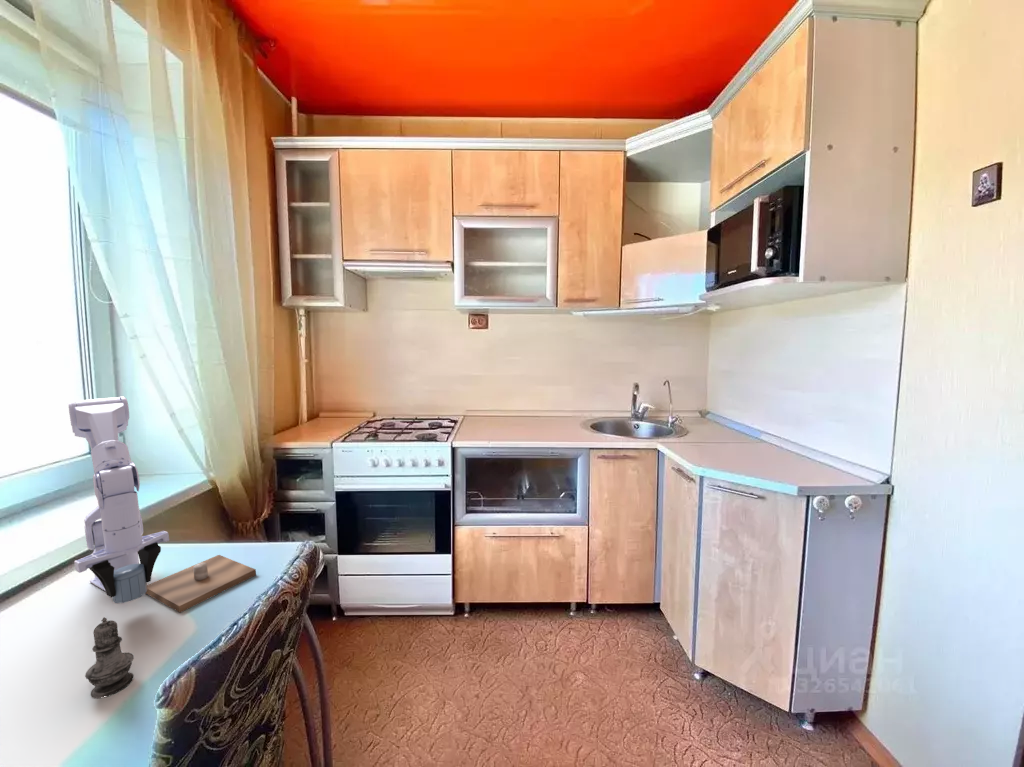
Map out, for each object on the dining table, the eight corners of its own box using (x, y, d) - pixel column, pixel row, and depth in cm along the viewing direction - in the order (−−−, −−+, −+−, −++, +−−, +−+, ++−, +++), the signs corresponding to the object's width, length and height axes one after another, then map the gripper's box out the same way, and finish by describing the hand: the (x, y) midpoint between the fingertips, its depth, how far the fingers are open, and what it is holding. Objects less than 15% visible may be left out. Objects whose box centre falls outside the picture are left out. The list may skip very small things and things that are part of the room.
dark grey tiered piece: (106, 702, 67) (97, 631, 66) (78, 697, 69) (68, 627, 67) (145, 673, 73) (137, 608, 72) (118, 669, 74) (109, 604, 73)
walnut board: (144, 592, 97) (142, 574, 97) (219, 560, 111) (217, 543, 111) (180, 612, 90) (177, 592, 89) (256, 575, 104) (254, 557, 103)
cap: (108, 598, 88) (105, 573, 87) (140, 585, 92) (137, 561, 92) (120, 605, 85) (116, 579, 85) (151, 591, 90) (148, 567, 89)
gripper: (81, 544, 79) (90, 613, 80) (173, 515, 91) (179, 575, 93) (66, 536, 82) (75, 603, 84) (157, 509, 95) (163, 567, 96)
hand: (129, 587), depth 88 cm, fingers closed on cap, 5 cm apart
